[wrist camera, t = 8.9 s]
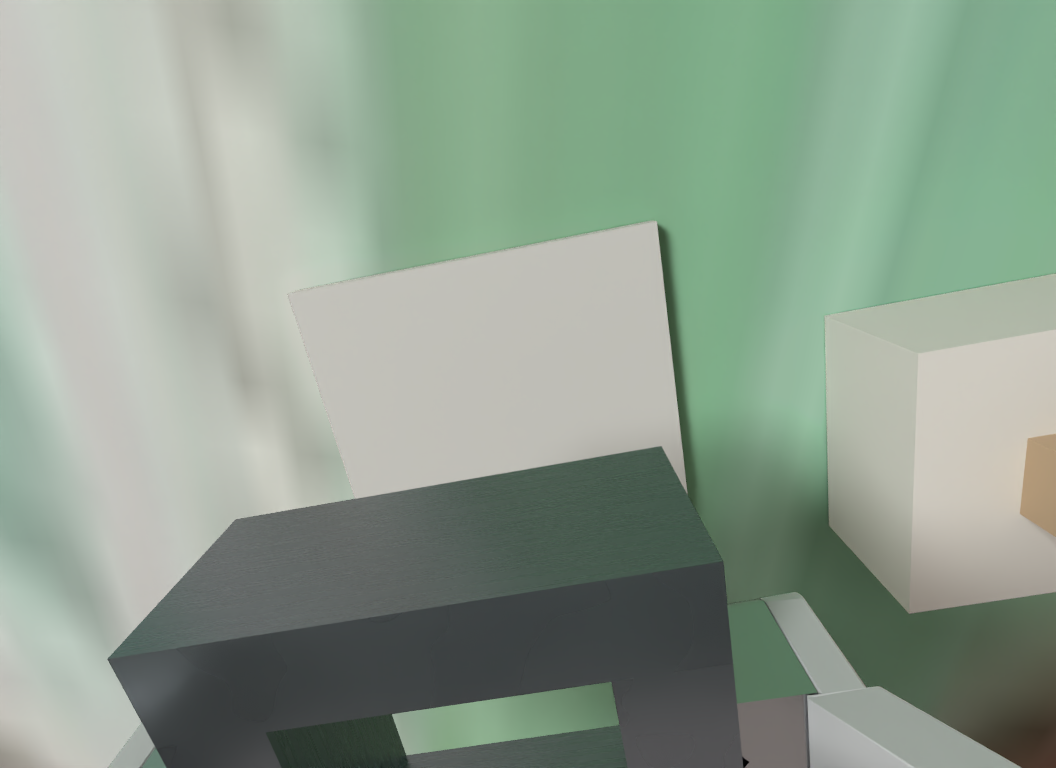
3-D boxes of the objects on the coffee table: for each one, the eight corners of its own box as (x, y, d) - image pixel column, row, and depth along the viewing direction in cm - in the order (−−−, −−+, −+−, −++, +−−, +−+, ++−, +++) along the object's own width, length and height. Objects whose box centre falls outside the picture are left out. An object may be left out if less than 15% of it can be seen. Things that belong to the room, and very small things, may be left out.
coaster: (296, 290, 16) (287, 294, 15) (651, 220, 15) (656, 221, 14) (391, 582, 19) (386, 594, 18) (688, 534, 18) (693, 545, 18)
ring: (235, 519, 8) (106, 659, 5) (661, 446, 7) (723, 561, 5) (357, 814, 10) (301, 1015, 7) (702, 767, 9) (761, 963, 7)
